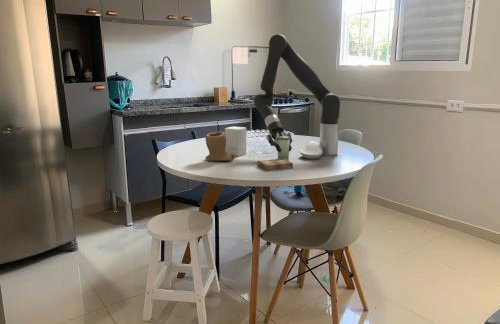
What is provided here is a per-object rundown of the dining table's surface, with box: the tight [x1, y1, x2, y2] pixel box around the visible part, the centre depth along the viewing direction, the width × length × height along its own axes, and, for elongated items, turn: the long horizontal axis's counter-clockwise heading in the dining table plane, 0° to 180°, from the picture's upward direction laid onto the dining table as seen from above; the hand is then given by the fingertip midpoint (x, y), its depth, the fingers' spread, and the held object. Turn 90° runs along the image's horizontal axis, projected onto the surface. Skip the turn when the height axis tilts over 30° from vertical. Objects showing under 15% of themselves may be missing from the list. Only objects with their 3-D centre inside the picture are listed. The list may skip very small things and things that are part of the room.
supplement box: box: [224, 125, 247, 157], centre depth 208 cm, size 9×9×15 cm
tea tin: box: [277, 136, 290, 161], centre depth 195 cm, size 6×6×12 cm
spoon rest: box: [299, 140, 322, 160], centre depth 207 cm, size 24×12×7 cm, turn 166°
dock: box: [257, 158, 294, 172], centre depth 183 cm, size 14×10×3 cm
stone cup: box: [204, 131, 237, 162], centre depth 193 cm, size 15×12×15 cm
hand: (285, 150), depth 194 cm, fingers closed on tea tin, 5 cm apart
